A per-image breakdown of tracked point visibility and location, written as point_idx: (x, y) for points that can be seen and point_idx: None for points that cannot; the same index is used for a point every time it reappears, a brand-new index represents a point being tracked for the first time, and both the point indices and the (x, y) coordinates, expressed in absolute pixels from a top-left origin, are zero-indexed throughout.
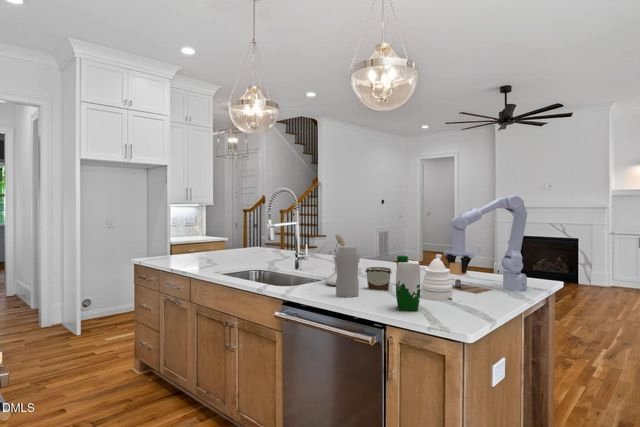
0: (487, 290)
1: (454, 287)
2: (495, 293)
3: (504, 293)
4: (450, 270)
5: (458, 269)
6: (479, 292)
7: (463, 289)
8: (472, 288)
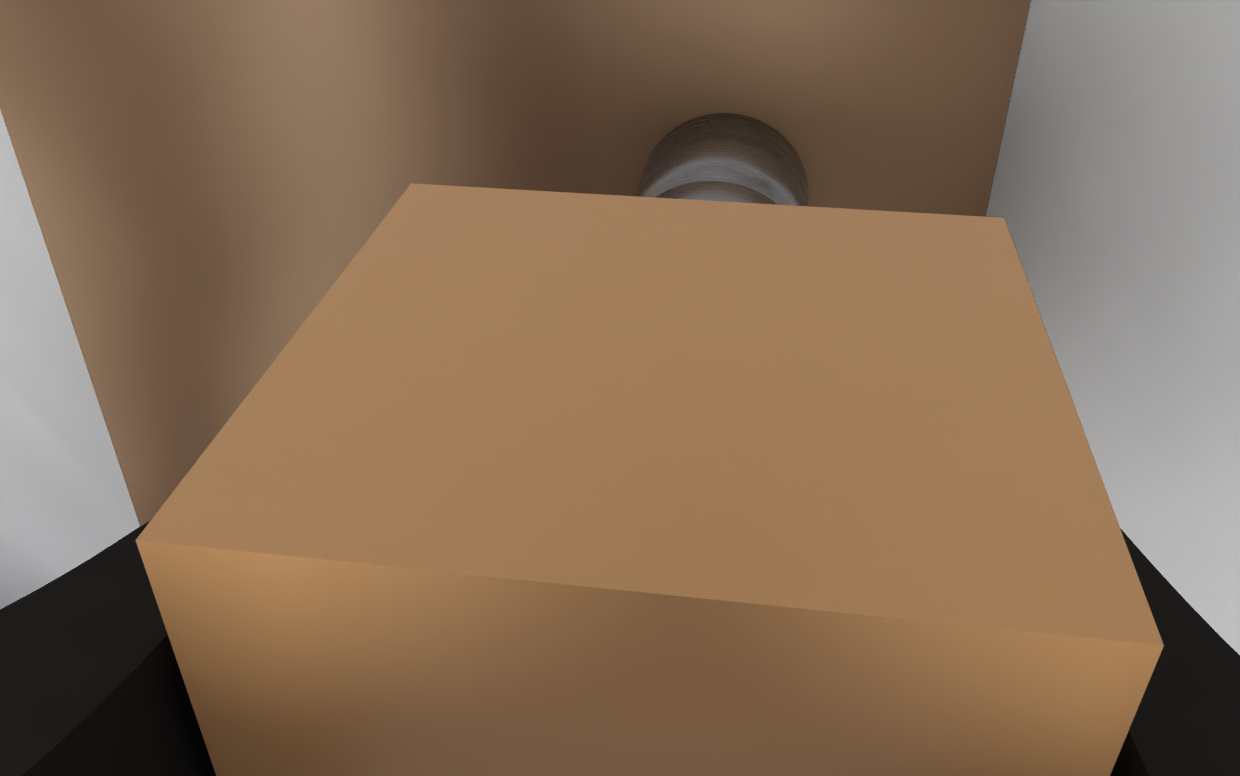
0: (134, 420)
1: (818, 153)
2: (90, 469)
3: (34, 565)
4: (978, 299)
5: (418, 327)
6: (29, 89)
7: (491, 102)
8: None
